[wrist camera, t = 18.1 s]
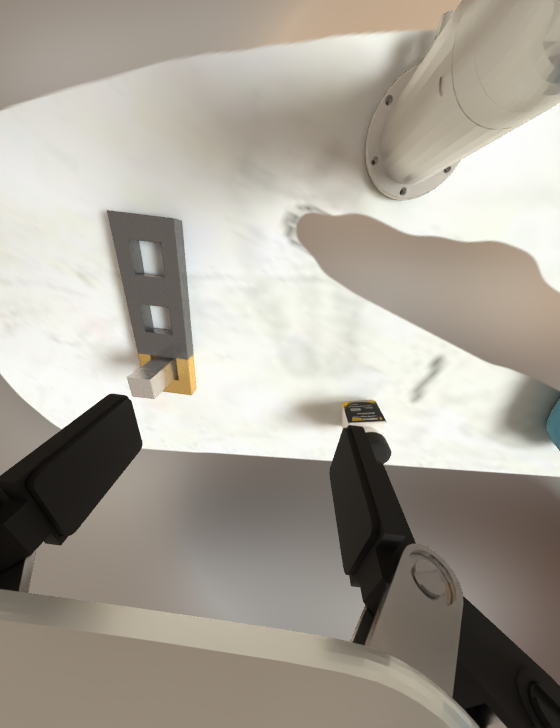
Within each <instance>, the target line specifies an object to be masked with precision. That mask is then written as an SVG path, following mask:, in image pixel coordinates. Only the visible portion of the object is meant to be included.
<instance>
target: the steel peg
mask: <svg viewBox="0 0 560 728" xmlns="http://www.w3.org/2000/svg"><path fill="white" fill-rule="evenodd" d="M177 376H178V370H177V362H176V358H170V357H162V356H155V357H154V358H153V359H151V360H150V361H148V362H147V363H146V364H144V365H143V366H142V367H140V368H139V369H137V370H136V371H135V372H133V373H132V374H131V375H129V376H128V377H127V379H128V383H129V386H130V390H131V393H132V396H133V397H142V398H150V399H155V398H156V397H157V396H158V395H159V394H160V393H161V392H162V391H163V390H164V389H165V388H166V387H167V386H168V385H169V384H170V383H171V382H172V381H173V380H174V379H175V378H176V377H177Z"/></svg>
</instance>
